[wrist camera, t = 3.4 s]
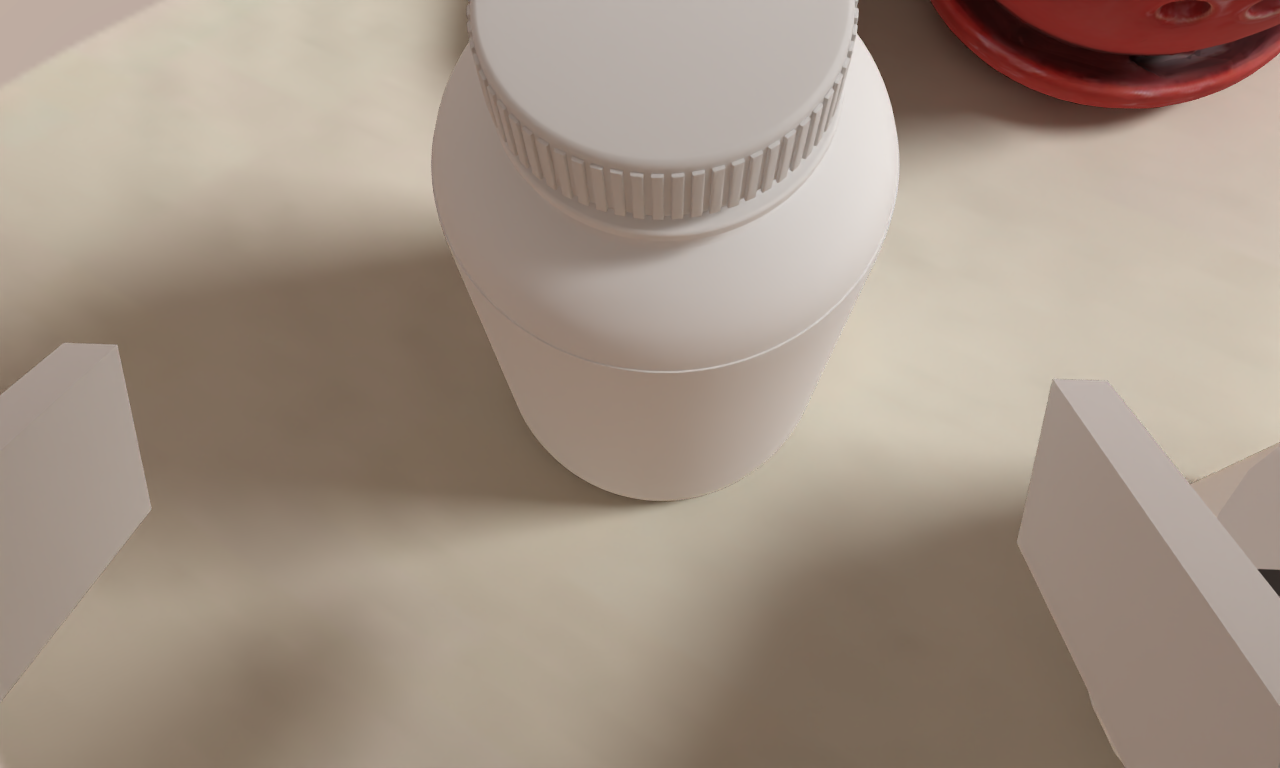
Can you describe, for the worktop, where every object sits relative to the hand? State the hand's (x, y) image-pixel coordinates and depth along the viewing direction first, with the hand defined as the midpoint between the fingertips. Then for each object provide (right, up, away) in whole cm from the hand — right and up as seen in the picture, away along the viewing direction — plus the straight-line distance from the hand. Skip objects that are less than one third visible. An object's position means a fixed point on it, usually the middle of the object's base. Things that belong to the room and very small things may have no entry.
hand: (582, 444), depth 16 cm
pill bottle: (+1, +1, +13) cm, 13 cm away
